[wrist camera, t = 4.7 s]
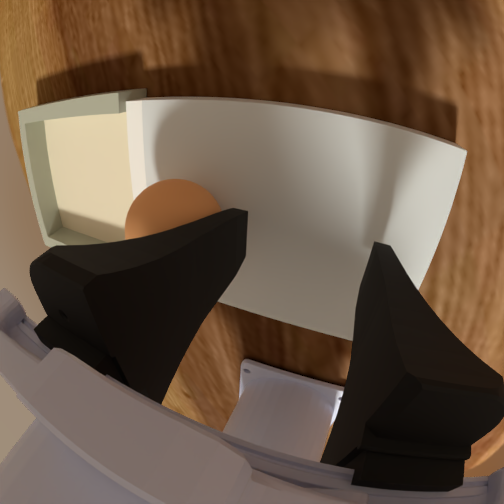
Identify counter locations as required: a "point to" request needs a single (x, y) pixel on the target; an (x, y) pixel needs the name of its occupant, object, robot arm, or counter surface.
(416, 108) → the counter surface
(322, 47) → the counter surface
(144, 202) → the ball
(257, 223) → the plate
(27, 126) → the tray
